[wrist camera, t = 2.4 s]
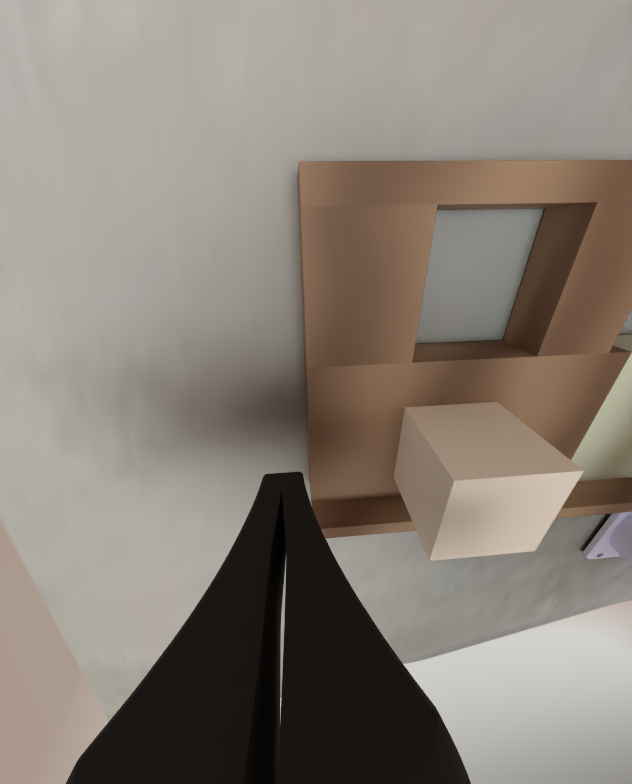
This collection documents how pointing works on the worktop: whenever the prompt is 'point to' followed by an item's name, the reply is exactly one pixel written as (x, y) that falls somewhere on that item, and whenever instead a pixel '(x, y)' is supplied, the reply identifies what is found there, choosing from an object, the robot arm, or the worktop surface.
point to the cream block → (479, 480)
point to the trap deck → (462, 359)
